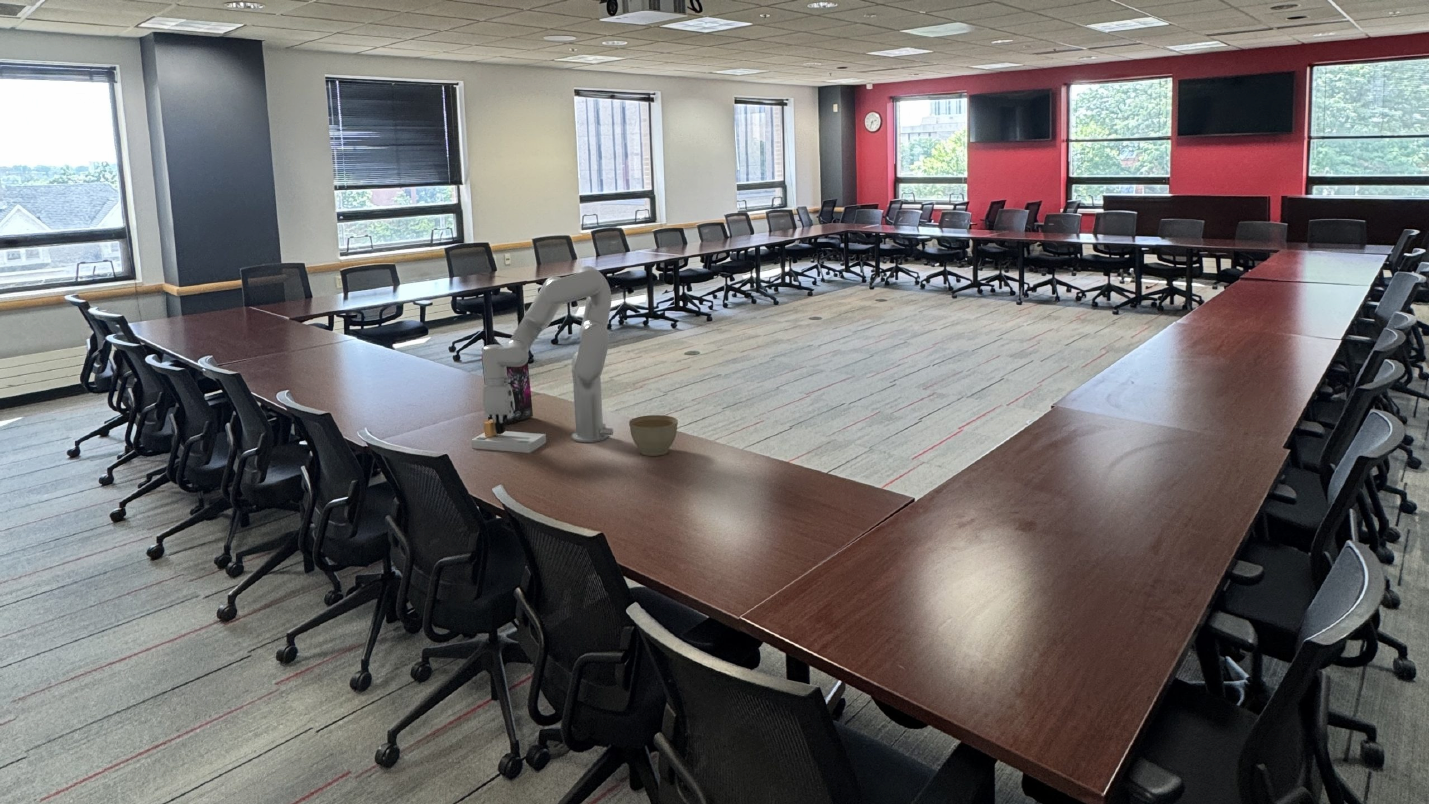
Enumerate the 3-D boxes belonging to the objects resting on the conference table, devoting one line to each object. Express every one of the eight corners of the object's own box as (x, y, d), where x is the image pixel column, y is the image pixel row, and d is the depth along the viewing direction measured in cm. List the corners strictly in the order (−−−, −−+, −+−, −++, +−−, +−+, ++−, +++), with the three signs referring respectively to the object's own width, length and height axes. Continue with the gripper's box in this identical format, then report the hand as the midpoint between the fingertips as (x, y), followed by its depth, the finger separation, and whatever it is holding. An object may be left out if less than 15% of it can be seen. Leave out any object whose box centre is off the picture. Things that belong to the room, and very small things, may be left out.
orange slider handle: (499, 439, 320) (498, 419, 318) (492, 443, 315) (490, 423, 313) (492, 438, 320) (490, 419, 319) (484, 442, 316) (483, 423, 314)
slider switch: (546, 442, 319) (545, 433, 318) (529, 452, 308) (529, 443, 307) (489, 437, 325) (489, 429, 324) (471, 448, 314) (471, 439, 313)
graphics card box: (498, 428, 337) (492, 355, 330) (486, 425, 341) (480, 353, 334) (533, 417, 350) (528, 347, 343) (521, 414, 354) (516, 345, 347)
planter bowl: (688, 451, 307) (687, 419, 304) (654, 463, 295) (653, 430, 293) (654, 442, 317) (653, 411, 315) (620, 453, 306) (618, 421, 303)
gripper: (521, 379, 312) (525, 431, 317) (482, 377, 317) (487, 428, 321) (510, 384, 306) (515, 437, 310) (470, 383, 310) (475, 434, 314)
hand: (500, 432), depth 316 cm, fingers closed
